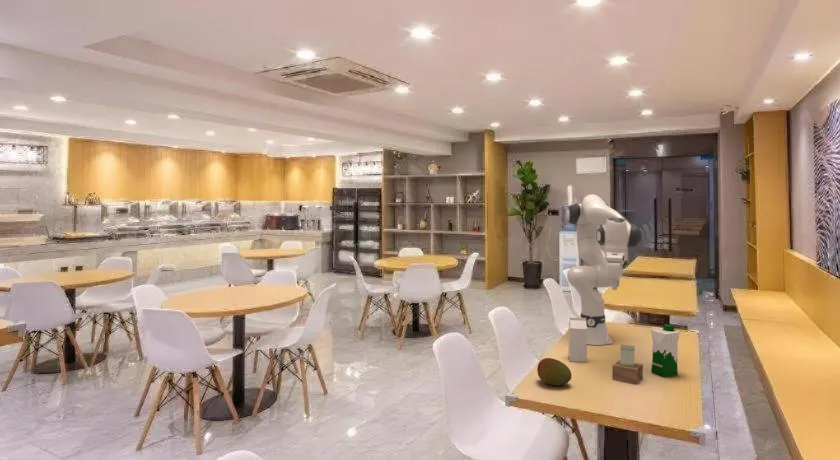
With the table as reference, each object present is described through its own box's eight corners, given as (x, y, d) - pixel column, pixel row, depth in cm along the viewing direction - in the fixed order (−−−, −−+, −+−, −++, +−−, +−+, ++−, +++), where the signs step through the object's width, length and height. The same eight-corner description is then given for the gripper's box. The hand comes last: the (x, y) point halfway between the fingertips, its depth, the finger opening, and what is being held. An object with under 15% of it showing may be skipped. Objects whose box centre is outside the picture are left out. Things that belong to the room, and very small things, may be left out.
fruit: (534, 378, 194) (534, 354, 194) (566, 379, 194) (566, 354, 194) (541, 389, 183) (541, 363, 182) (574, 389, 182) (574, 363, 182)
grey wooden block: (620, 361, 197) (620, 344, 197) (634, 363, 195) (634, 345, 195) (620, 365, 193) (620, 347, 192) (634, 367, 191) (634, 349, 190)
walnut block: (619, 374, 200) (619, 359, 200) (642, 378, 195) (642, 364, 194) (612, 380, 193) (612, 365, 193) (636, 385, 188) (636, 369, 187)
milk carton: (586, 362, 215) (587, 319, 214) (570, 361, 216) (570, 319, 216) (584, 357, 222) (585, 316, 221) (568, 356, 223) (568, 315, 222)
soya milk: (681, 375, 197) (682, 327, 197) (665, 378, 194) (666, 329, 193) (662, 369, 205) (663, 322, 205) (647, 372, 202) (648, 324, 201)
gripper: (610, 253, 217) (610, 284, 217) (605, 257, 199) (605, 291, 199) (626, 254, 214) (625, 285, 215) (622, 258, 196) (621, 292, 196)
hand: (615, 288), depth 207 cm, fingers open, 8 cm apart
